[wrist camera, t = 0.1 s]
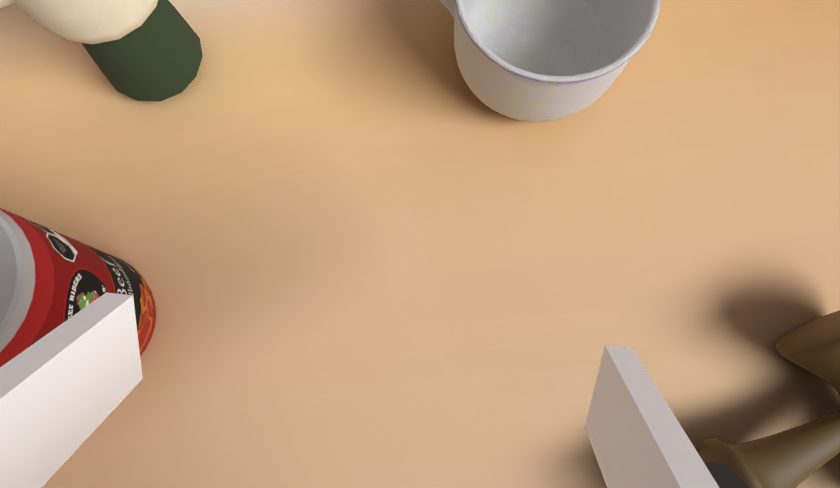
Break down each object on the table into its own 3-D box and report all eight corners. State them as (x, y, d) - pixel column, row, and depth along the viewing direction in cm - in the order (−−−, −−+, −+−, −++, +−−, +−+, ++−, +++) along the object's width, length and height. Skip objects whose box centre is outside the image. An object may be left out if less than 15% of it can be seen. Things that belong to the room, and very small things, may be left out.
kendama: (588, 424, 29) (883, 278, 31) (676, 599, 28) (985, 433, 29) (628, 439, 24) (988, 259, 25) (744, 663, 22) (1126, 451, 23)
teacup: (640, 64, 35) (704, -27, 27) (542, 178, 33) (581, 114, 25) (478, -49, 37) (495, -162, 29) (376, 51, 35) (365, -43, 27)
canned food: (150, 390, 29) (-1, 394, 19) (8, 388, 29) (-226, 390, 19) (170, 257, 31) (43, 191, 21) (36, 255, 31) (-161, 188, 21)
